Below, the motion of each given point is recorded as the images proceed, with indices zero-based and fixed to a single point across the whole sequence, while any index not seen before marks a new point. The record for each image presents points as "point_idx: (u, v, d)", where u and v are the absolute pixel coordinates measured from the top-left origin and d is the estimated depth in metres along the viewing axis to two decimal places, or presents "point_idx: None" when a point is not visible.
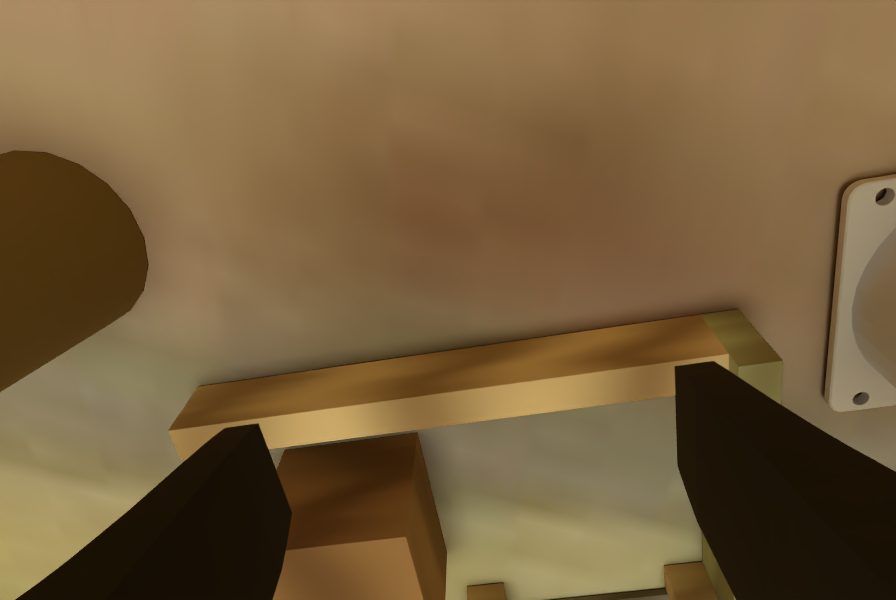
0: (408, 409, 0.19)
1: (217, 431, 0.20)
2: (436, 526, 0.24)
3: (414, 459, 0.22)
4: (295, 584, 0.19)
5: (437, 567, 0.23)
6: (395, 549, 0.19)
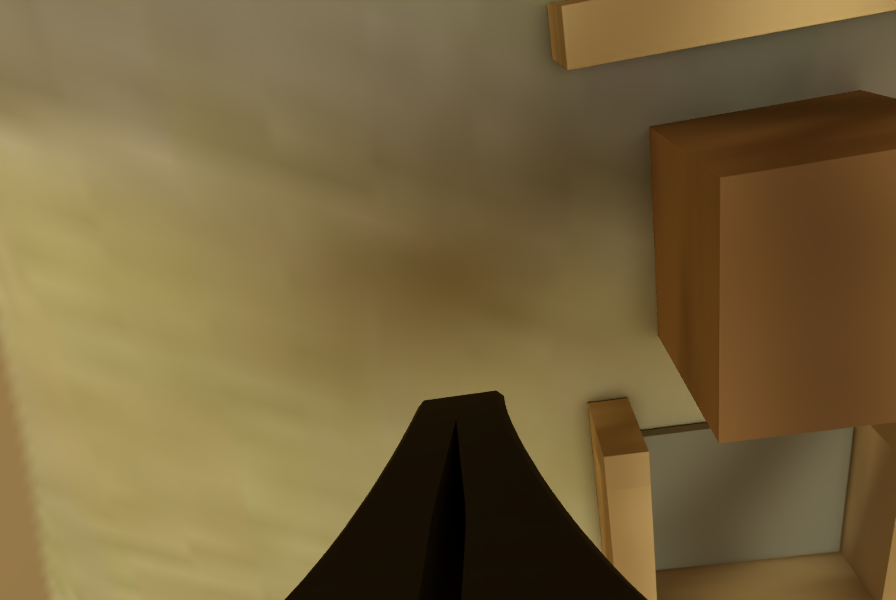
0: None
1: (643, 4, 0.12)
2: None
3: None
4: (788, 241, 0.12)
5: None
6: None
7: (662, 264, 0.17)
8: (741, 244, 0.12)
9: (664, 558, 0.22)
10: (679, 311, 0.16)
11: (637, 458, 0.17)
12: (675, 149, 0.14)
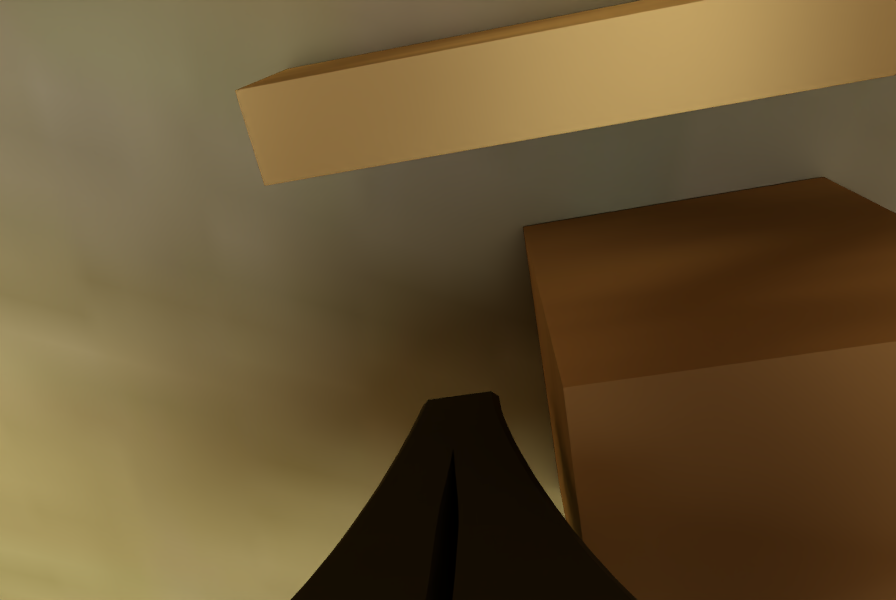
0: (894, 4, 0.07)
1: (364, 89, 0.08)
2: None
3: (876, 207, 0.09)
4: (691, 479, 0.07)
5: None
6: None
7: (551, 417, 0.12)
8: (611, 484, 0.07)
9: None
10: (566, 500, 0.11)
11: None
12: (536, 285, 0.09)
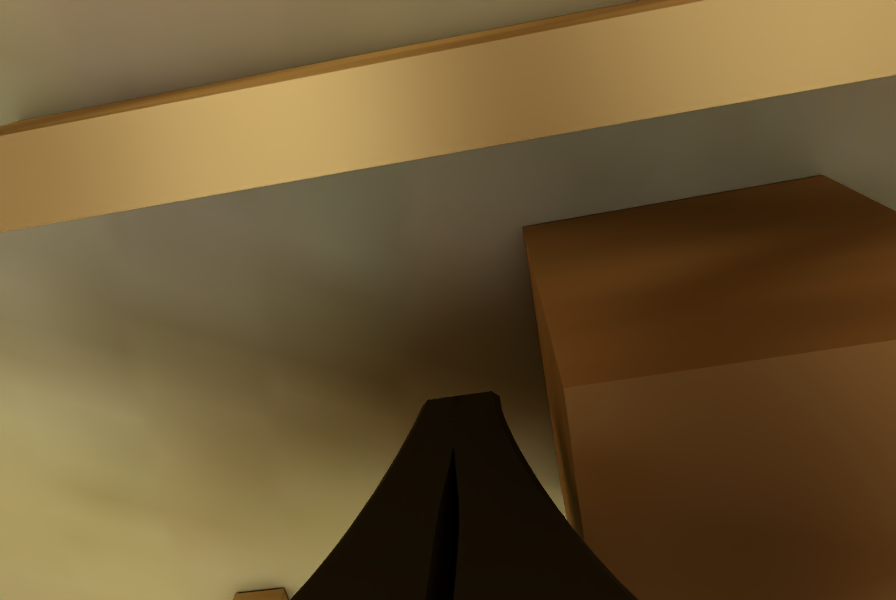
0: (487, 79, 0.08)
1: (13, 155, 0.08)
2: None
3: (876, 205, 0.09)
4: (692, 479, 0.07)
5: None
6: None
7: (552, 418, 0.12)
8: (612, 484, 0.07)
9: None
10: (567, 500, 0.11)
11: None
12: (536, 285, 0.09)
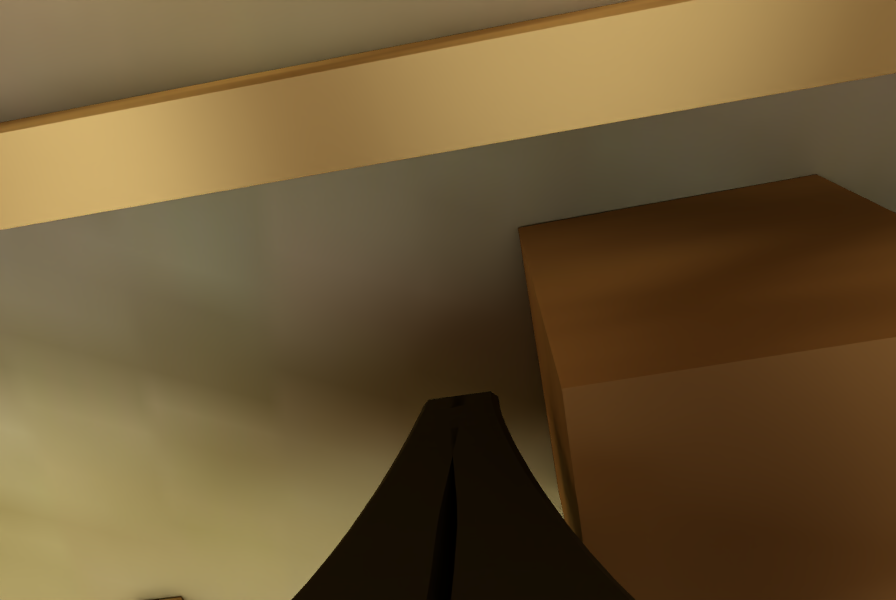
0: (280, 116, 0.08)
1: None
2: None
3: (869, 204, 0.09)
4: (690, 478, 0.07)
5: None
6: None
7: (548, 418, 0.12)
8: (611, 484, 0.07)
9: None
10: (565, 500, 0.11)
11: None
12: (533, 285, 0.09)
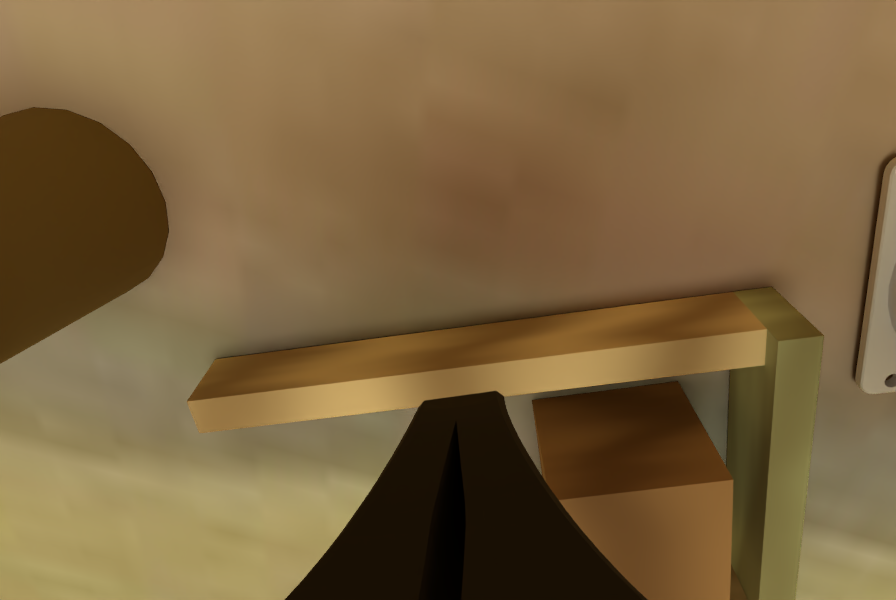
0: (436, 382, 0.19)
1: (238, 402, 0.19)
2: None
3: (691, 406, 0.20)
4: (598, 533, 0.18)
5: None
6: (717, 493, 0.17)
7: None
8: None
9: None
10: None
11: None
12: (539, 441, 0.20)
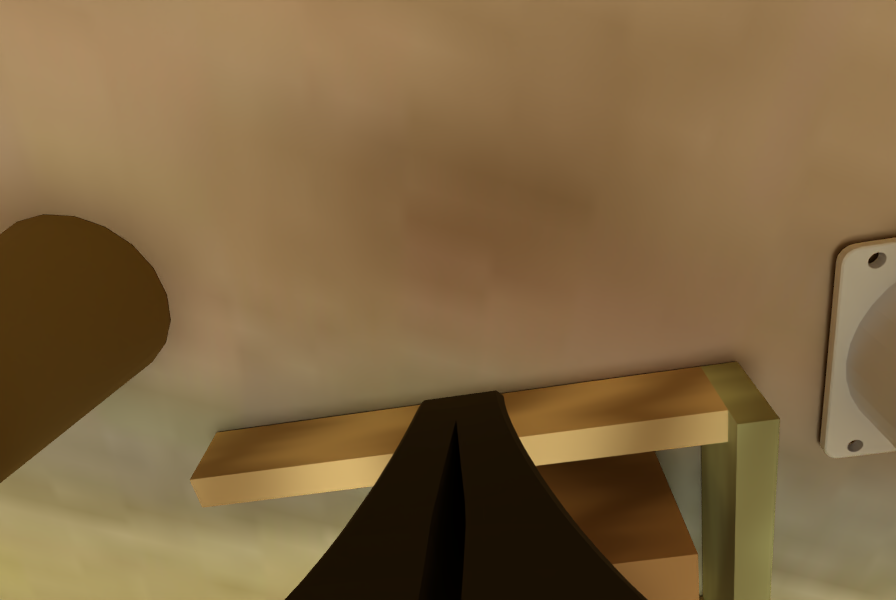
0: None
1: (237, 480, 0.21)
2: None
3: (663, 474, 0.22)
4: None
5: None
6: (683, 565, 0.19)
7: None
8: None
9: None
10: None
11: None
12: None
